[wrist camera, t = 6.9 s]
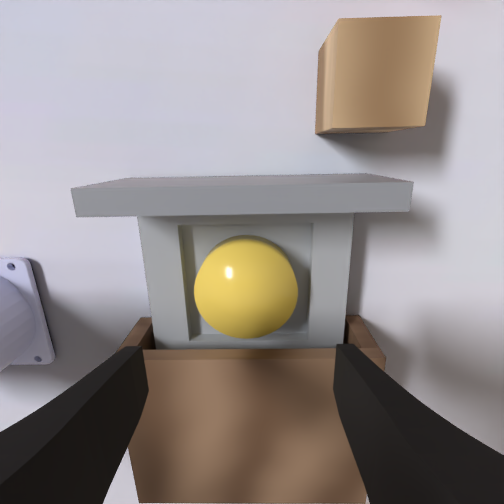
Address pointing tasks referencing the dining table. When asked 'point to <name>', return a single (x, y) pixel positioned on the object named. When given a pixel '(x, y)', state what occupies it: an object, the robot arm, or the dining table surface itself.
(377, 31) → the block
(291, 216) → the tray
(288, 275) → the yellow flat dome
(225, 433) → the housing
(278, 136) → the dining table surface
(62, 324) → the dining table surface
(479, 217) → the dining table surface
